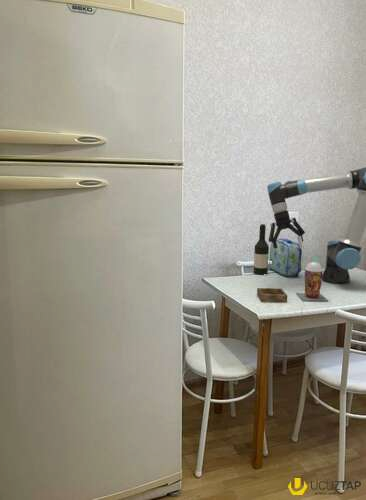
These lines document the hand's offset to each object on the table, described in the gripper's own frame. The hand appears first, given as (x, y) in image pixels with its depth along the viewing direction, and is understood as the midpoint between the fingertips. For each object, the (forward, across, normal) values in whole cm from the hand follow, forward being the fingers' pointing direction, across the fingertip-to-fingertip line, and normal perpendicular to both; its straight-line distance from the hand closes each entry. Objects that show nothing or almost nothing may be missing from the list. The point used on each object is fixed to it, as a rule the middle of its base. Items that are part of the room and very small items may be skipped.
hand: (290, 251), depth 209 cm
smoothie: (+24, +2, +12) cm, 27 cm away
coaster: (+24, +2, +12) cm, 27 cm away
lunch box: (+14, -12, -36) cm, 40 cm away
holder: (+19, +21, +10) cm, 30 cm away
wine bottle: (+10, +3, -37) cm, 39 cm away
